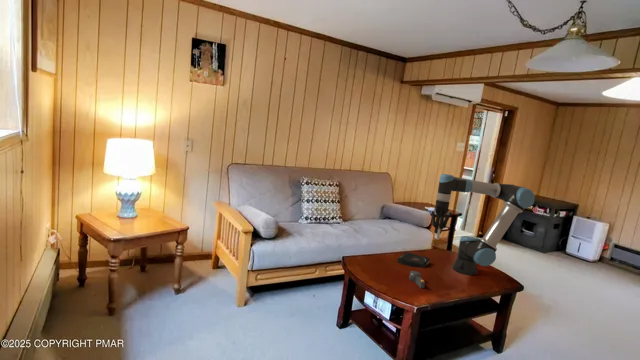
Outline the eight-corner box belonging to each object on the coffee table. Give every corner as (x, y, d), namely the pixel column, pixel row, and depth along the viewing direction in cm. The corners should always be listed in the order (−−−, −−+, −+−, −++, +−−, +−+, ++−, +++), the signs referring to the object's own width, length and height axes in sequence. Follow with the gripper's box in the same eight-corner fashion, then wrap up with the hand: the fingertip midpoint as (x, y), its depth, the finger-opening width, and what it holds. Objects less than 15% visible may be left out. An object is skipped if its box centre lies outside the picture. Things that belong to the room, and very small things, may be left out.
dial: (407, 277, 208) (408, 270, 207) (417, 277, 209) (418, 271, 208) (416, 288, 194) (417, 280, 193) (427, 288, 195) (429, 281, 194)
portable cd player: (422, 270, 226) (423, 265, 225) (397, 263, 235) (398, 257, 234) (429, 264, 240) (430, 258, 239) (405, 257, 249) (406, 251, 248)
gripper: (450, 199, 214) (444, 237, 217) (429, 198, 212) (423, 235, 215) (456, 202, 206) (449, 241, 210) (435, 200, 205) (429, 239, 208)
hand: (436, 238), depth 212 cm, fingers closed
